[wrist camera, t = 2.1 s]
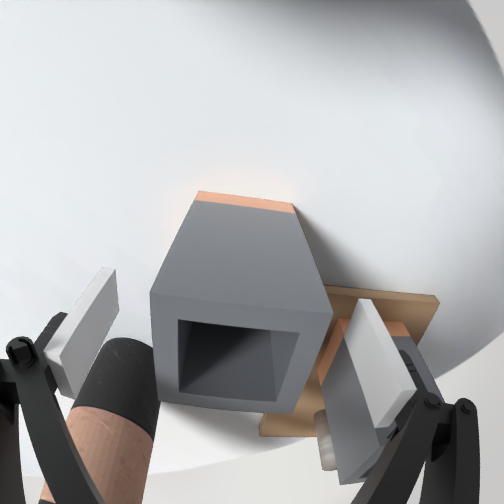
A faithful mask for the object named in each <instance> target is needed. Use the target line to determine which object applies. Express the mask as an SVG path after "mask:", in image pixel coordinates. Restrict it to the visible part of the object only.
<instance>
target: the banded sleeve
mask: <svg viewBox="0 0 504 504" xmlns="http://www.w3.org/2000/svg"><path fill="white" fill-rule="evenodd" d="M150 311H151V327H152V341H153V354H154V365H155V375H156V384H157V392H158V401H163V402H169V403H175V404H182V405H189V406H196V407H204V408H212V409H222V410H232V411H244V412H259V413H280V414H292V413H293V411H294V409H295V407H296V404H297V402H298V400H299V398H300V395H301V393H302V391H303V389H304V386H305V384H306V382H307V379H308V377H309V375H310V372H311V370H312V367H313V365H314V363H315V360H316V358H317V355H318V353H319V350H320V348H321V345H322V343H323V340H324V338H325V335H326V332H327V330H328V327H329V324H330V322H331V319H332V316H333V314H334V313H333V310H332V307H331V304H330V302H329V299H328V296H327V293H326V291H325V288H324V285H323V282H322V280H321V277H320V274H319V272H318V269H317V266H316V264H315V261H314V258H313V256H312V253H311V251H310V248H309V245H308V243H307V240H306V238H305V235H304V233H303V230H302V228H301V225H300V223H299V220H298V218H297V215H296V213H295V210H294V208H293V205H292V203H285V202H279V201H272V200H265V199H258V198H251V197H243V196H236V195H228V194H220V193H212V192H203V191H199V192H198V194H197V195H196V197H195V199H194V201H193V203H192V205H191V207H190V209H189V211H188V213H187V215H186V217H185V219H184V221H183V223H182V225H181V227H180V229H179V231H178V233H177V235H176V237H175V239H174V241H173V243H172V245H171V247H170V249H169V251H168V254H167V256H166V258H165V260H164V262H163V264H162V266H161V268H160V271H159V273H158V275H157V277H156V279H155V281H154V284H153V286H152V288H151V290H150Z"/></svg>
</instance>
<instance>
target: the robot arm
mask: <svg viewBox="0 0 504 504" xmlns="http://www.w3.org/2000/svg"><path fill="white" fill-rule="evenodd" d="M118 312H119V304H118V295H117V284H116V272H115V269H112V268H106V267H102V268H101V270H100V271H99V272H98V273H97V275H96V276H95V277H94V279H93V280H92V281H91V283H90V284H89V285H88V287H87V288H86V289H85V291H84V292H83V294H82V295H81V296H80V298H79V299H78V300H77V302H76V303H75V305H74V306H73V307H72V309H71V310H70V312H69V313H68V314H67V313H63V312H60V313H58V314H57V315H55V316H54V317H52V319H51V320H50V321H49V323H48V324H47V326H46V327H45V328H44V330H43V332H42V333H41V334H40V336H39V337H38V338H37V340H36V341H35V343H34V344H33V342H32V340H31V339H29V338H28V337H24V336H22V337H16V338H14V339H12V340H11V341H10V342H9V343H8V345H7V346H6V353H7V355H8V357H9V359H10V360H9V359H0V504H26V502H25V496H24V489H23V482H22V472H21V462H20V448H19V404H21V408H22V412H23V416H24V419H25V423H26V426H27V430H28V433H29V436H30V439H31V442H32V446H33V448H34V451H35V454H36V457H37V460H38V463H39V465H40V468H41V470H42V473H43V476H44V478H45V480H46V483H47V485H48V488H49V490H50V492H51V494H52V497H53V499H54V501H55V503H56V504H106V503H105V501H104V500H103V498H102V496H101V494H100V493H99V491H98V489H97V487H96V486H95V484H94V482H93V480H92V478H91V476H90V474H89V472H88V471H87V469H86V467H85V465H84V463H83V461H82V458H81V456H80V454H79V452H78V450H77V448H76V446H75V443H74V441H73V439H72V437H71V434H70V432H69V430H68V427H67V425H66V422H65V420H64V417H63V415H62V412H61V409H60V407H59V404H58V401H57V399H56V396H55V394H54V393H55V391H56V389H57V387H58V389H59V391H60V394H61V395H63V396H66V397H69V398H72V399H75V400H76V398H77V396H78V394H79V391H80V389H81V387H82V385H83V383H84V380H85V378H86V376H87V374H88V372H89V370H90V368H91V365H92V363H93V361H94V359H95V357H96V355H97V353H98V351H99V349H100V347H101V345H102V343H103V341H104V339H105V337H106V335H107V333H108V331H109V329H110V327H111V325H112V323H113V321H114V320H115V318H116V316H117V314H118ZM344 339H345V341H346V344H347V347H348V350H349V353H350V355H351V358H352V361H353V364H354V367H355V370H356V373H357V376H358V379H359V381H360V384H361V387H362V390H363V393H364V396H365V399H366V403H367V406H368V409H369V412H370V415H371V418H372V421H373V424H374V428H382V427H389V426H390V424H391V423H392V422H393V421H394V419H395V421H396V424H397V426H396V427H395V429H394V430H393V431H392V432H391V433H390V434H389V436H388V437H387V439H389V440H388V442H387V444H386V446H385V447H384V449H383V451H382V453H381V455H380V457H379V458H378V460H377V462H376V464H375V466H374V467H373V469H372V471H371V472H370V474H369V476H368V477H367V479H366V481H365V482H364V484H363V486H362V487H361V489H360V490H359V492H358V493H357V495H356V497H355V498H354V500H353V501H352V503H351V504H406V503H407V501H408V499H409V497H410V495H411V492H412V490H413V488H414V485H415V483H416V481H417V479H418V477H419V474H420V472H421V469H422V467H423V464H424V462H425V459H426V463H425V470H424V478H423V484H422V491H421V498H420V502H419V504H479V490H480V448H479V430H478V417H477V409H476V406H475V405H474V403H473V402H471V401H470V400H468V399H466V398H461V399H459V400H458V401H457V402H456V403H455V404H454V405H453V404H447V403H442V401H441V399H440V398H439V397H438V396H437V395H436V394H434V393H431V392H428V391H427V389H426V387H425V385H424V383H423V381H422V379H421V377H420V375H419V373H418V372H417V369H416V367H415V366H414V363H413V361H412V359H411V357H410V356H409V355H408V354H407V353H406V352H405V351H404V350H397V348H396V346H395V344H394V342H393V340H392V338H391V336H390V334H389V332H388V331H387V329H386V327H385V325H384V323H383V321H382V319H381V317H380V316H379V314H378V312H377V310H376V308H375V306H374V305H373V303H372V301H371V299H358V301H357V304H356V307H355V309H354V312H353V314H352V317H351V320H350V322H349V325H348V327H347V330H346V332H345V334H344Z"/></svg>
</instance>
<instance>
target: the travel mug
mask: <svg viewBox="0 0 504 504" xmlns="http://www.w3.org/2000/svg"><path fill="white" fill-rule="evenodd" d="M160 403H161V401H158V392H157V384H156V375H155V365H154V354H153V349H152V348H151V347H149V346H148V345H146V344H144V343H142V342H140V341H137V340H134V339H130V338H114V339H111V340H109V341H107V342H106V343H105V344H104V345H103V346H102V348H101V350H100V352H99V353H98V355H97V357H96V359H95V361H94V363H93V365H92V367H91V369H90V371H89V373H88V375H87V377H86V379H85V381H84V383H83V385H82V387H81V389H80V391H79V394H78V396H77V398H76V400H75V402H74V404H73V406H72V408H71V411H70V413H69V415H68V418H67V420H66V425H67V427H68V430H69V432H70V434H71V437H72V439H73V441H74V443H75V446H76V448H77V450H78V452H79V454H80V456H81V458H82V461H83V463H84V465H85V467H86V469H87V471H88V472H89V474H90V476H91V478H92V480H93V482H94V484H95V486H96V487H97V489H98V491H99V493H100V494H101V496H102V498H103V500H104V501H105V503H106V504H142V499H143V493H144V488H145V483H146V478H147V473H148V468H149V463H150V458H151V453H152V448H153V443H154V437H155V431H156V426H157V420H158V414H159V409H160ZM38 504H56V503H55V501H54V499H53V497H52V494H51V492H50V490H49V488H48V485H47V483H46V480H45V483H44V486H43V490H42V493H41V496H40V500H39V503H38Z"/></svg>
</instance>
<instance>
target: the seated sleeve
mask: <svg viewBox="0 0 504 504" xmlns="http://www.w3.org/2000/svg"><path fill="white" fill-rule="evenodd" d="M350 320H351V319H340V318H338V321H337V323H336V326H335V328H334V331H333V333H332V336H331V338H330V341H329V343H328V346H327V348H326V351H325V353H324V355H323V358H322V360H321V363H320V365H319V367H318V370H317V371H318V376H319V381H320V385H321V390H322V395H323V399H324V404H325V409H326V414H327V419H328V424H329V429H330V434H331V439H332V444H333V450H334V455H335V460H336V466H337V471H338V476H339V482H340V485H345V484H353V483H359V482H365V481H366V479H367V477H368V476H369V474H370V472H371V471H372V469H373V467H374V466H375V464H376V462H377V460H378V458H379V457H380V455H381V453H382V451H383V449H384V447H385V446H386V444H387V442H388V440H389V439H387V437H388V436H389V434H390V433H391V432H392V431H393V430H394V429H395V427H396V426H397V424H396V421H395V419H394V421H393V422H392V423H391V424H390V426H389V427H382V428H374V424H373V421H372V418H371V415H370V412H369V409H368V406H367V403H366V399H365V396H364V393H363V390H362V387H361V384H360V381H359V379H358V376H357V373H356V370H355V367H354V364H353V361H352V358H351V355H350V353H349V350H348V347H347V344H346V341H345V339H344V334H345V332H346V330H347V327H348V325H349V322H350ZM383 323H384V325H385V327H386V329H387V331H388V332H389V334H390V336H391V338H392V340H393V342H394V344H395V346H396V348H397V350H404V351H405V352H406V353H407V354H408V355H409V356H410V357H411V359H412V361H413V363H414V366H415V367H416V369H417V372H418V373H419V375H420V377H421V379H422V381H423V383H424V385H425V387H426V389H427V391H428V392H431V393H434V394H436V395H437V396H438V397H439V398H440V399H441V401H442V403H445V401H444V399H443V397H442V395H441V393H440V391H439V389H438V387H437V385H436V383H435V381H434V379H433V377H432V375H431V373H430V371H429V369H428V367H427V365H426V363H425V362H424V360H423V358H422V356H421V354H420V352H419V350H418V349H417V347H416V345H415V343H414V341H413V340H412V338H411V336H410V334H409V332H408V331H407V329H406V327H405V325H404V324H403V322H394V321H383ZM425 461H426V459H425Z"/></svg>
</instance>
